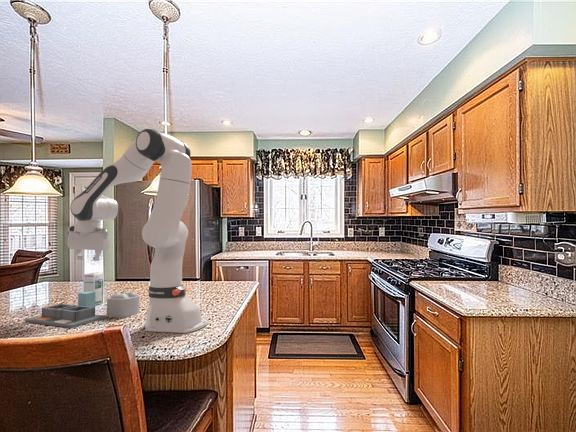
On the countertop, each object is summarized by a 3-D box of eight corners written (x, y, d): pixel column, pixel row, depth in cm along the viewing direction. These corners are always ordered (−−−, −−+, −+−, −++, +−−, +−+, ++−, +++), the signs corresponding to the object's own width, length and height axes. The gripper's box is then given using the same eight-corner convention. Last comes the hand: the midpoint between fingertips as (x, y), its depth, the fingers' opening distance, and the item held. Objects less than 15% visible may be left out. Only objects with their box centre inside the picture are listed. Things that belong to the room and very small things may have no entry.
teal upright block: (95, 310, 146) (95, 291, 147) (85, 313, 142) (86, 293, 142) (87, 309, 148) (87, 291, 148) (77, 312, 144) (78, 293, 144)
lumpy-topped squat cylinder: (102, 316, 136) (103, 294, 137) (124, 309, 149) (125, 289, 149) (125, 318, 134) (125, 296, 135) (145, 310, 147) (146, 290, 147)
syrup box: (93, 306, 155) (94, 274, 155) (82, 305, 156) (83, 273, 157) (103, 303, 160) (103, 272, 161) (92, 302, 162) (93, 272, 162)
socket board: (105, 318, 134) (105, 306, 134) (71, 328, 120) (72, 315, 121) (61, 313, 142) (61, 302, 142) (25, 321, 128) (25, 309, 129)
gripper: (113, 228, 146) (112, 260, 145) (78, 227, 153) (77, 258, 152) (100, 228, 140) (99, 262, 139) (65, 227, 147) (63, 260, 146)
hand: (87, 260), depth 146 cm, fingers open, 8 cm apart
